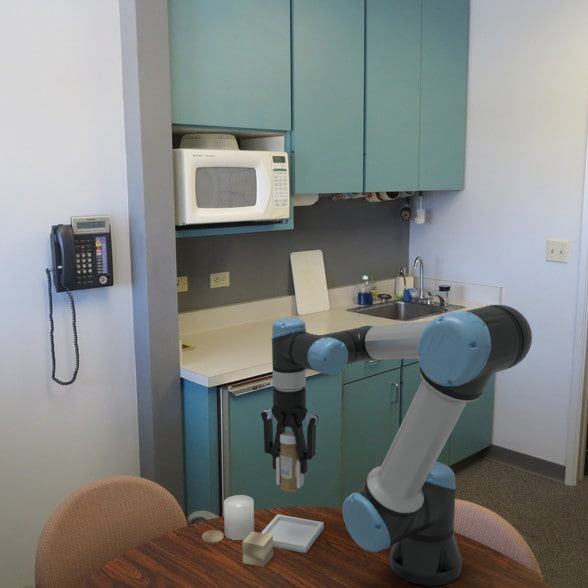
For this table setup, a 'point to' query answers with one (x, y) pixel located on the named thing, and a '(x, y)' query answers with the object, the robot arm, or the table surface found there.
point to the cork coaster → (212, 536)
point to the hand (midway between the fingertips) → (290, 483)
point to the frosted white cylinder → (238, 517)
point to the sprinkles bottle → (288, 461)
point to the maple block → (257, 549)
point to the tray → (293, 532)
